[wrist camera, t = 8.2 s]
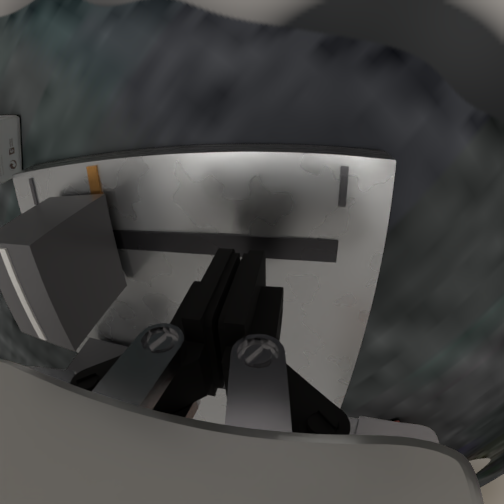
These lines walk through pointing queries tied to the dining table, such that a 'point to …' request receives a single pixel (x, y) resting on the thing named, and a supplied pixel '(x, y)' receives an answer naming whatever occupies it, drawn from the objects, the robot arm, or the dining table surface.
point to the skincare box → (9, 147)
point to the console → (241, 238)
